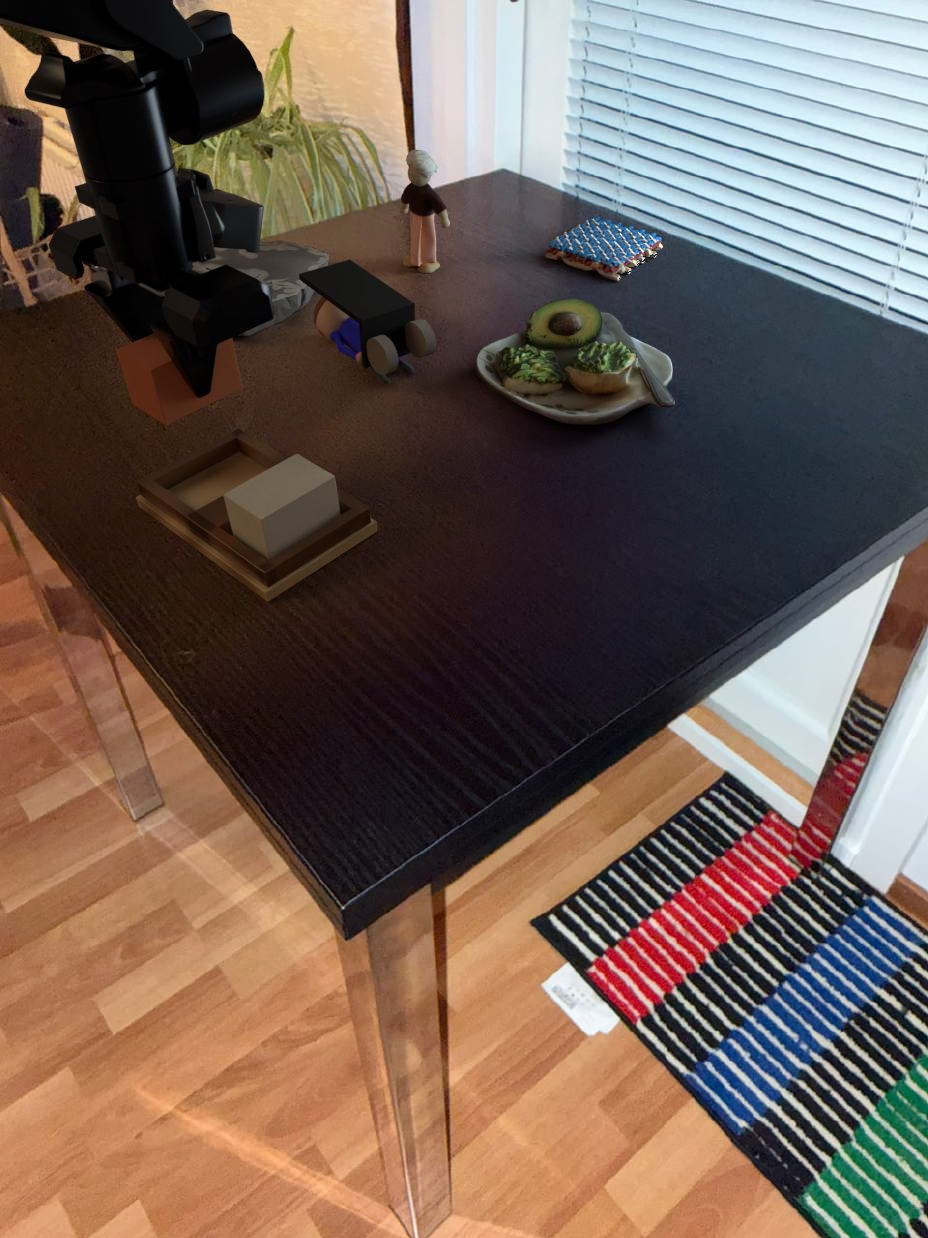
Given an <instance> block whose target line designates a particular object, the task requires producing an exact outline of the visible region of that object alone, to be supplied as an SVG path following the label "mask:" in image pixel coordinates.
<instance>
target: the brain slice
mask: <svg viewBox="0 0 928 1238" xmlns="http://www.w3.org/2000/svg"><path fill="white" fill-rule="evenodd" d="M214 249H215V254H216V258H214V259H211V260H209V261H206V262H203V263H201V262H199V261H197V262H195V263H192V264H193V269H192V270H194V271H196V272H198V273H200V274H203V273H205V272H208V271H210V270H213V269H215V268H218V267H220V266H223V265H225V264H226V265H228V266H230V267H232V268H235V269H237V270H239V271H241V272H243V273H245V274H248V275H250V276H252V277H254V278H256V279H258V280H259V281H261V282H262V283H264V284H265V285H267V286H268V287H270V290H271V296H272V302H273V308H274V313H275V314H274V318H273V320H271V321H268V322H266V323H264V324H262V325H259V326H257V327H255V328H253V329H251V330H248V331H246V332H244V333H242V334H239V335H237V336H236V337H238V336H240V337H250V336H252V335H255V334H256V333H258V332H260V331H262V330H266V329H268V328H271V327H272V326H275V325H277V324H279V323H281V322H284V321H285V320H286V319H287V318H289V317H290V316H292V315H293V314H294V313H295V312H300V311H301V310H302V309H303V308H304V307H305V306H307V305H308V303H309V302H310V301H311V299H312V296H313V295H314V294H315V293H316V292H315V291H314V290H313V289H311V288H310V287H309V286H307V285H306V284H305V283H303V282H302V281H301V280H299V274H300V273H304V272H307V271H311V270H314V269H318V268H321V267H325V266H329V260H330V255H329V253H328V252H325V251H324V250H321V249H318V248H316V247H312V246H308V245H303V244H301V243H300V244H299V243H296V242H291V241H284V240H271V241H260V248H259V252H257V253H249V252H247V251H246V250H245V249H228V248H215V247H214ZM165 297H166V296H165ZM165 297H164V299H165Z"/></svg>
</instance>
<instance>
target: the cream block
mask: <svg viewBox="0 0 928 1238" xmlns="http://www.w3.org/2000/svg"><path fill="white" fill-rule="evenodd" d="M287 458H288V459H286V460H284V461H282V462H280V463H279V464H277V465H275V466H273V467H271V468H270V469H268V470H266V471H264V472H262V473H261V474H259V475H257V476H255V477H253V478H252V479H250V480H248V481H246V482H244V483H243V484H241V485H239V486H237V487H235V488H234V489H232V490H230V491H228V492H226V493H225V494H223V496H224V500H225V504H226V508H227V512H228V516H229V520H230V524H231V528H232V532H233V536H234V538H235V539H237V540H238V541H240V542H241V543H243V544H244V545H245V546H247V547H248V548H250V549H251V550H252V551H254V552H255V553H257V554H258V555H260V556H261V557H262V558H264V559H265V560H269V559H270V558H272V557H274V556H275V555H277V554H279V553H280V552H282V551H283V550H285V549H287V548H288V547H290V546H292V545H293V544H295V543H296V542H298V541H300V540H301V539H303V538H305V537H306V536H308V535H309V534H311V533H313V532H314V531H316V530H318V529H319V528H321V527H322V526H324V525H326V524H327V523H329V522H331V521H332V520H334V519H335V518H337V517H339V516H340V508H339V501H338V494H337V488H338V487H337V480H336V476H335V475H334V474H332V473H331V472H328V471H327V470H325V469H324V468H322V467H320V466H318V465H317V464H315V463H314V462H312V461H310V460H309V459H307V458H306V457H304V456H303V455H300V454H299V453H295V454H293V455H291V456H290V457H287Z"/></svg>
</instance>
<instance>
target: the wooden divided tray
mask: <svg viewBox="0 0 928 1238" xmlns="http://www.w3.org/2000/svg"><path fill="white" fill-rule="evenodd" d="M288 458H289V457H287V456H285V455H284V454H282V453H280V452H279V451H277V450H275V449H274V448H273V447H270V446H269V445H267V444H266V443H264V442H262V441H260V440H259V439H257V438H255V437H254V436H253V435H251V434H249V433H247V432H246V431H245V430H242V429H240V428H237V429H235V430H232V431H231V432H229V433H227V434H225V435H223V436H221V437H219V438H217V439H215V440H214V441H212V442H209V443H208V444H205V445H203V446H202V447H200V448H197V449H195V450H193V451H192V452H190V453H187V454H186V455H184V456H182V457H180V458H178V459H176V460H174V461H172V462H170V463H169V464H166V465H164V466H163V467H161V468H158V469H157V470H155V471H153V472H151V473H148V474H147V475H145V476H143V477H141V478H139V479H137V480H136V484H137V486H138V490H139V493H140V494H139V495H137V496H135V499H136V503H137V505H138V507H139V508H140V509H141V510H143V512H145V513H147V514H148V515H150V516H151V517H152V518H153V519H155V520H156V521H157V522H159V523H160V524H162V526H164V527H166V529H168V530H170V532H172V533H174V534H175V535H176V536H178V537H179V538H180V539H182V540H183V541H184V542H186V543H187V544H189V545H190V546H191V547H193V549H195V550H197V551H198V552H199V553H201V555H203V556H205V557H206V558H207V559H209V560H210V561H212V562H213V563H214V564H216V565H217V567H219V568H221V569H222V570H224V571H225V572H226V573H228V574H229V575H231V576H232V577H233V578H235V579H236V580H237V581H238V582H240V583H241V584H243V585H244V586H246V587H247V588H248V589H249V590H251V591H252V592H253V593H254V594H256V595H257V596H259V597H260V598H262V599H263V600H264V601H266V602H267V603H268V602H270V601H272V600H274V599H275V598H276V597H278V596H279V595H281V594H282V593H284V592H286V591H288V590H289V589H291V588H292V587H294V586H295V585H296V584H298V583H300V582H301V581H302V580H304V579H306V578H307V577H309V576H311V575H312V574H314V573H315V572H317V571H318V570H320V569H322V568H323V567H324V566H326V565H327V564H329V563H330V562H332V561H334V560H335V559H337V558H338V557H340V556H341V555H343V554H345V553H346V552H348V551H349V550H351V549H352V548H354V547H356V546H357V545H359V544H360V543H362V542H363V541H365V540H367V539H368V538H369V537H371V536H372V535H374V534H375V533H377V532H378V522H377V521H376V520H374V519H373V518H372V517H371V509H370V506H367V505H366V504H365V503H363V502H361V501H360V500H357V499H356V498H354V497H353V496H351V495H349V494H348V493H346V492H345V491H343V490H341V489H339V488H338V487H337V494H338V501H339V508H340V516H339V517H337V518H335V519H334V520H332V521H331V522H329V523H327V524H326V525H324V526H322V527H321V528H319V529H318V530H316V531H314V532H313V533H311V534H309V535H308V536H306V537H305V538H303V539H301V540H300V541H298V542H296V543H295V544H293V545H292V546H290V547H288V548H287V549H285V550H283V551H282V552H280V553H279V554H277V555H275V556H274V557H272V558H270V559H269V560H265V559H264V558H262V557H261V556H260V555H258V554H257V553H255V552H254V551H252V550H251V549H250V548H248V547H247V546H245V545H244V544H243V543H241V542H240V541H238V540H237V539H235V538H234V536H233V532H232V528H231V524H230V520H229V516H228V512H227V508H226V504H225V500H224V496H223V494H225V493H226V492H228V491H230V490H232V489H234V488H235V487H237V486H239V485H241V484H243V483H244V482H246V481H248V480H250V479H252V478H253V477H255V476H257V475H259V474H261V473H262V472H264V471H266V470H268V469H270V468H271V467H273V466H275V465H277V464H279V463H280V462H282V461H284V460H286V459H288Z"/></svg>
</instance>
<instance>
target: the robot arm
mask: <svg viewBox="0 0 928 1238" xmlns="http://www.w3.org/2000/svg"><path fill="white" fill-rule="evenodd" d="M0 24H1V25H5V26H8V27H11V28H15V29H18V30H21V31H22V30H23V31H26V32H29V33H33V34H36V35H40V36H43V37H47V38H50V39H51V38H52V39H56V40H61V41H66V42H70V43H71V42H72V43H77V44H82V45H86V46H87V45H88V46H92V47H96V48H102V49H106V50H107V49H108V50H112V51H117V52H132V54H133V60H129V61H123V60H122V59H120V57H117V56H115V55H112V54H109V53H99V54H95V55H92V56H91V55H90V56H88V57H85V58H81V59H78V60H73V59H72V58H71V57H70V56H69V55H64V54H60V53H54V52H51V51H43V52H42V53H41V55H40V61H39V65H38V67H37V68H36V70H35V71H34V73H33V74H32V75H31V76H30V78H29V80H28V82H27V84H26V86H25V88H24V96H25V97H26V99H28V101H32V102H35V103H39V104H44V105H48V106H52V107H56V108H60V109H64V111H65V115H66V119H67V121H68V125H69V129H70V133H71V136H72V139H73V143H74V146H75V150H76V153H77V157H78V161H79V164H80V166H81V170H82V174H83V177H84V183H81V184H78V185H75V186H74V190H75V193H76V196H77V199H78V202H79V203H80V204H82V205H83V206H86V207H88V208H91V210H93V212H94V215H92V216H89V217H86V218H82V219H80V220H77V221H74V222H71V223H68V224H65V225H62V226H59V227H56V228H55V229H54V232H53V234H52V236H51V239H50V240H49V243H48V248H49V250H50V255H51V257H52V260H53V263H54V266H55V269H56V271H57V272H60V273H62V274H64V275H65V276H67V277H69V278H71V279H73V280H74V281H77V280H78V279H81V278H83V277H84V274H85V270H86V269H85V266H87V267H88V269H89V273H90V276H91V279H92V281H91V282H88V283H86V284H85V285H84V286H83V288H84V289H83V290H84V291H85V294H87V295H88V296H90V297H91V298H92V299H93V300H94V301H95V303H97V304H98V305H99V307H100V308H101V309H102V311H104V312H105V313H106V314H107V316H108V317H109V318H110V319H111V320H112V321H113V323H114V324H115V325H116V326H117V327H118V328H119V330H120V331H121V332H122V333H123V334H124V335H125V337H126V338H127V339H128V340H129V341H130V343H132V342H135V341H137V340H139V339H142V338H144V337H147V336H149V335H151V334H154V333H155V335H156V337H157V338H158V340H159V341H160V343H161V344H162V346H163V347H164V349H165V350H166V352H167V354H168V355H169V357H170V358H171V360H172V361H173V363H174V365H175V366H176V368H177V369H178V371H179V372H180V374H181V375H182V377H183V379H184V380H185V382H186V383H187V385H188V386H189V387H190V389H191V390H192V392H193V393H194V395H195V396H196V397H198V398H202V397H204V396H206V395H208V394H209V393H210V392H211V385H212V378H213V371H214V364H215V357H216V350H217V345H218V344H219V343H222V342H224V341H226V340H228V339H230V338H232V339H233V338H234V337H238V336H239V334H242V333H244V332H246V331H248V330H251V329H253V328H255V327H257V326H259V325H262V324H264V323H266V322H268V321H271V320H273V318H274V314H275V313H274V308H273V302H272V296H271V290H270V287H268V286H267V285H265V284H264V283H262V282H261V281H259V280H258V279H256V278H254V277H252V276H250V275H248V274H245V273H243V272H241V271H239V270H237V269H235V268H232V267H230V266H228V265H226V264H225V265H223V266H220V267H218V268H215V269H213V270H210V271H208V272H205V273H203V274H200V273H198V272H196V271H194V270H192V269H193V264H192V263H195V262H197V261H199V262H201V263H203V262H206V261H209V260H211V259H214V258H216V254H215V249H214V247H215V248H228V249H245V250H246V251H247V252H249V253H257V252H259V248H260V242H261V239H262V228H263V219H264V210H265V206H264V205H263V204H260V203H258V202H256V201H253V200H250V199H248V198H245V197H243V196H240V195H239V194H235V193H232V192H228V191H225V190H222V189H220V188H214V185H213V182H212V178H211V176H210V175H209V174H207V173H205V172H202V171H200V170H198V169H193V168H185V167H178V169H177V165H176V160H175V156H174V152H173V147H172V143H171V141H173V142H176V143H177V144H179V145H181V146H193V145H196V144H198V143H200V142H203V141H205V140H209V139H211V138H213V137H216V136H219V135H221V134H223V133H227V132H229V131H231V130H234V129H237V128H239V127H241V126H244V125H246V124H249V123H251V122H253V121H255V120H256V119H257V118H258V117H259V115H260V114H261V112H262V109H263V107H264V103H265V83H264V82H265V81H264V77H263V74H262V72H261V71H260V70H259V68H258V65H257V63H256V60H255V59H254V56H253V55H252V53H251V51H250V49H249V48H248V47H247V46H246V44H245V43H244V42H243V41H242V39H240V37H238V36H237V35H236V34H235V33H234V31H233V26H232V20H231V15H230V14H229V13H228V12H226V11H219V10H213V9H204V10H200V11H197V12H193V13H192V14H191V15H190V16H188V17H187V18H184V16H183V15H182V13H181V11H179V9H178V8H177V7H176V5H175V4H174V3H173V2H172V0H0ZM165 296H166V297H165ZM164 297H165V299H164ZM237 335H238V336H237Z"/></svg>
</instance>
